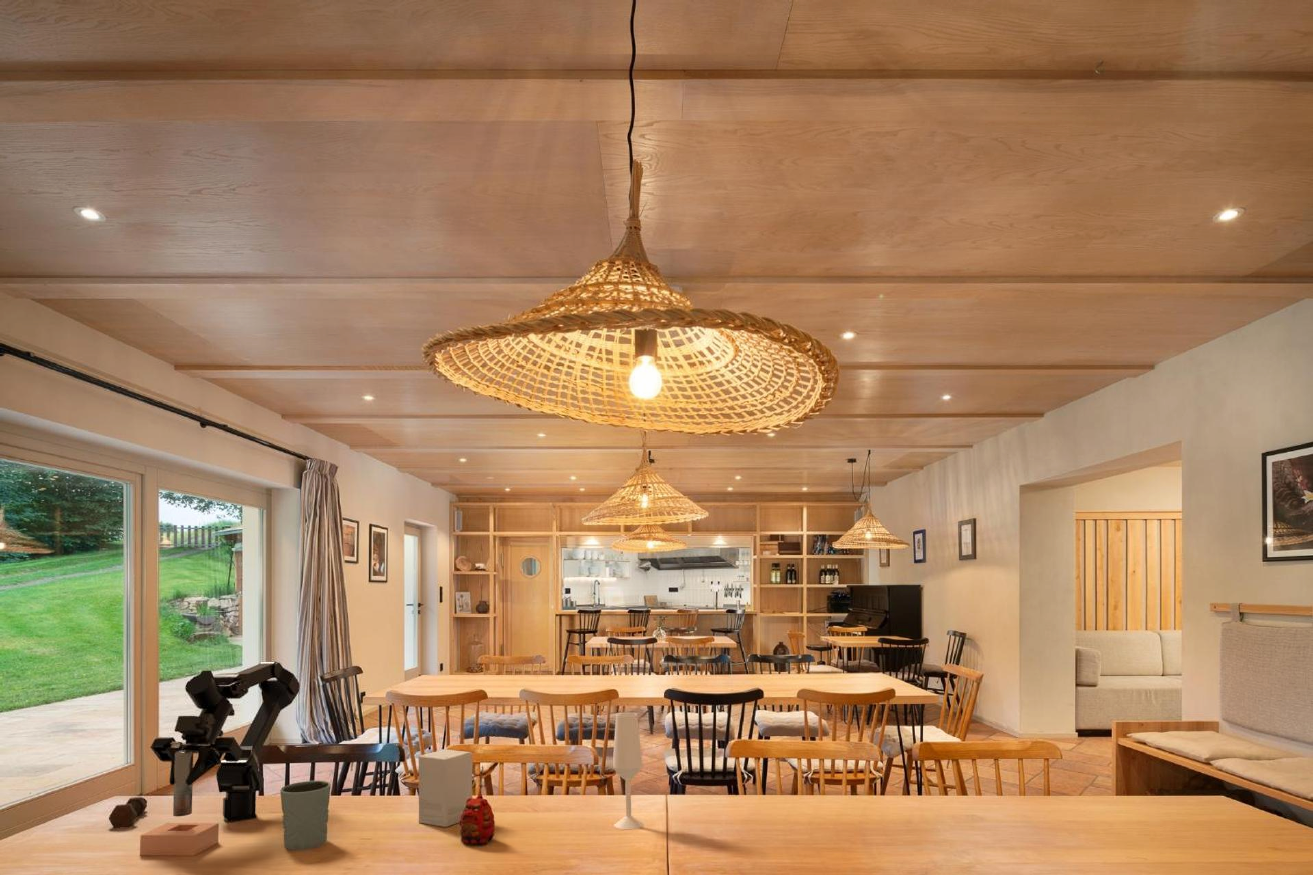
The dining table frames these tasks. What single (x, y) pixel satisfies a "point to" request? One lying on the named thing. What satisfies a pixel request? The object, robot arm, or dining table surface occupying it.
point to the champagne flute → (627, 760)
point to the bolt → (127, 812)
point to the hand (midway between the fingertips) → (179, 783)
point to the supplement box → (444, 786)
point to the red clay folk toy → (477, 819)
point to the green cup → (305, 814)
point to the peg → (182, 783)
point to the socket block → (179, 839)
